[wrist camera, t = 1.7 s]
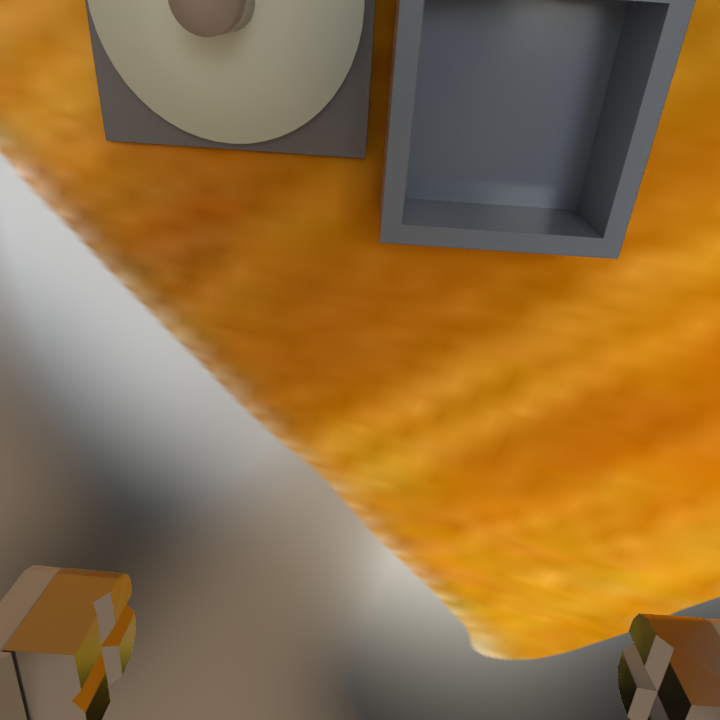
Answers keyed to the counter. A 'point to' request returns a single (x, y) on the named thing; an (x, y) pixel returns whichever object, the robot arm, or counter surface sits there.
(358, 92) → the mat
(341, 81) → the lid
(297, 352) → the counter surface
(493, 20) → the grey storage tray
